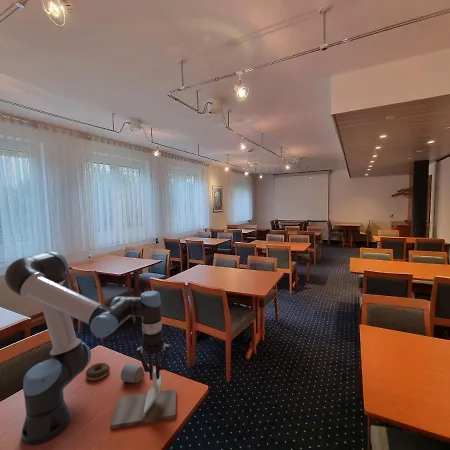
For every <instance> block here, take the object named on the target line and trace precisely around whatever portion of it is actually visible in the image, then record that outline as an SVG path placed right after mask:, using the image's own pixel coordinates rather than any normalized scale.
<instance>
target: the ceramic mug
mask: <svg viewBox="0 0 450 450" xmlns="http://www.w3.org/2000/svg"><path fill="white" fill-rule="evenodd" d="M144 373H145V371H144V368H143V366H142V365H138V364H134V363H131V362H127V363H125V364H124V365H123V366H122V369H121V372H120V380H121V381H122V382H127V383H132V384H138V383H140V381H141V380H142V378H143V375H144Z"/></svg>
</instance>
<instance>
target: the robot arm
mask: <svg viewBox="0 0 450 450" xmlns="http://www.w3.org/2000/svg"><path fill="white" fill-rule="evenodd" d="M68 269H69V264H68V261H67V259H66V257H64V255H63V254H60V253H59V252H56V251H45V252H42V253H38V254H34V255H29V256H27V257H21V258H19V259H16V260H14V261H12V262H11V263H10V265H9V266H8V267H7V268H6V271H5V273H4V281H5V283H6V285H7V287H8V288H9V289H10V290H11V292H13V293H15V294H17V295H18V296H20V297H23V298H32V299H34V300H37V301H38V302H40V304H41V308H42V313H43V316H44V319H45V322H46V327H47V330H48V334H49V338H50V340H51V345H52V348H51V350H50V351H49V355H50V359H46V360H43V361H42V362H38V363H37V364H35V365H33V366H32V367H30V369H28V370H27V372H26V373H25V375H24V376H23V386H22V392H23V396H24V405H25V414H26V415H25V419H24V422H23V426H22V428H21V438H22V442H23V443H24V444H26V445H31V446H35V445H40V444H43V443H46V442H49V441H51V440H53V439H54V438H56V437H57V436H59V434H61V433H62V432H63V431H64V430H65V429H66V428H67V427H68V426H69V423H70V422H71V410H70V408H69V406H68V405H67V403H66V401H65V398H64V389H65V388H66V387H67V386H68V385H69V384H70V383H71V382H72V381H73V380H74V379H75V378H76V377H78V375H80V374H81V373H83V371H84V370H85V368H87V366H88V365H89V364H90V362H91V359H92V352H91V348H90V346H89V345H87V343H86V342H84V341H82V339H80V338H78V337H77V335H76V332H75V329H74V324H73V320H72V318H74V319H77V320H78V321H80V322H83V323H84V324H87V325H89V327H90V328H89V329H90V331H91V333H92V334H93V336H95V337H97V338H101V339H102V338H103V339H104V338H106V337H108V336H110V335H111V334H112V333H114V332H115V331H116V330H117V329H118V328H119V327H120V326H121V325H122V324H123V323H124V322H126V321H127V320H128V319H129V318H130V317H132V318H133V317H136V318H139V317H141V325H142V326H141V328H142V330H141V331H142V344H141V346H140V347H137V348H136V353H137V355H138V357H139V359H140V361H141V362H140V363H141V366H142V367H143V370H144V373H149V380H150V381H152V386H153V389H154V388H157V379H159V376H160V375H161V373H160V372H161V371H163V370H164V368H165V364H166V363H165V362H166V358H167V353H168V351H170V343H165V341H164V339H163V329H162V328H163V322H162V321H163V320H162V301H161V294H160V292H159V291H156V290H147V291H144V292H142V293H141V294H140V296H126V295H121V296H115V297H114V298H112V301H110V303H109V304H110V305H109V307H108V306H106V305H103V304H102V303H99V302H98V301H96V300H93V299H91V298H90V297H87V296H85V295H83V294H81V293H78V292H77V291H75V290H72V289H70V288H67V287H66V286H63V285H64V283H65V281H66V277H65V275H66V273H67V271H68ZM162 349H163V351H162V352H163V353H162V357H161V362H160V356H159V354H160V351H161V350H162ZM144 351H145V352H146V353H147V356H148V362H147V359H146V358H147V357H146V356H145V352H144ZM153 354H154V360H155V363H154V361H153ZM154 364H155V368H154Z"/></svg>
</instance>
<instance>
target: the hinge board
mask: <svg viewBox="0 0 450 450" xmlns="http://www.w3.org/2000/svg"><path fill="white" fill-rule="evenodd" d="M148 392H149V390H147V391H146V393H142V394H141V393H139V394H134V395H133V394H132V395H127V396H121V397H120V396H118V399H117V402H116V404H115V409H114V411H113V416H112V418H111V422H110V424H109V425H110V430H113V429H118V428H125V427H131V426H137V425H143V424H149V423H154V422H155V423H157V422H161V421H167V420H173V419H177V389H176V388H175V389H174V388H173V389H168V390H167V389H166V390H161V393H160V394H159V396H158V397H157V399H156V400H155V402H154V403H153V405H152V406H151V407H150V409H149V410H148V412H147V413H146V414H144V408H145V402H146V396H147V393H148Z"/></svg>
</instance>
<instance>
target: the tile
mask: <svg viewBox="0 0 450 450" xmlns="http://www.w3.org/2000/svg"><path fill="white" fill-rule="evenodd" d="M162 380H163V375H162V374H160V376H159V379H157V388H154V389H153V385H152V386H151V387H150V389H149V390H148V391H149V392H148V393H147V392H146V393H147V396H146V402H145V408H144V414H146V413H147V412H148V410H149V409H150V407H151V406H152V405H153V403H154V402H155V400H156V399H157V397H158V396H159V394H160V393H161V391H162V383H163V381H162Z"/></svg>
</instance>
